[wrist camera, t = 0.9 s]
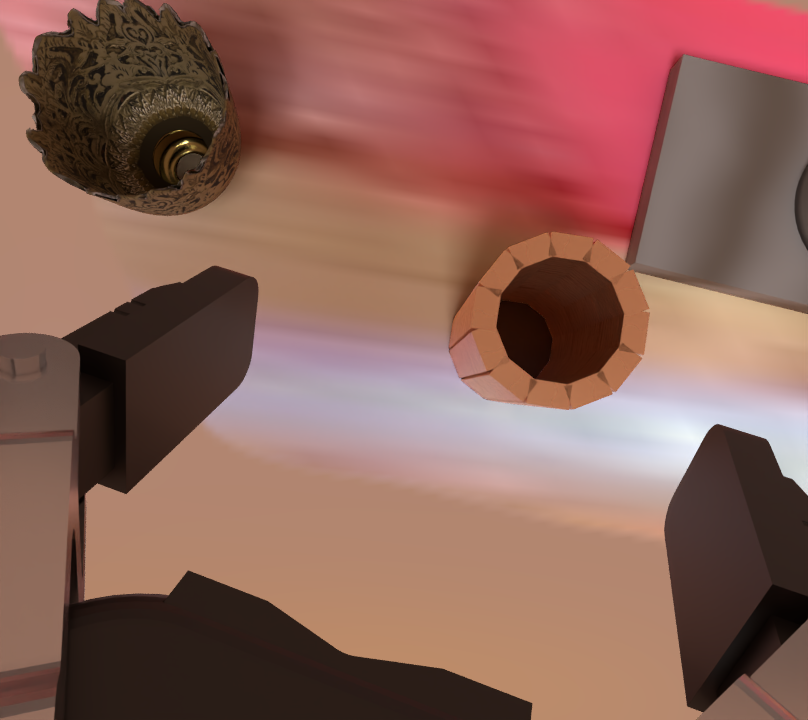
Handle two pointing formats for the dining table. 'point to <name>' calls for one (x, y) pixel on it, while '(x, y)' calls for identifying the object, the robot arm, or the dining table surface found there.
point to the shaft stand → (728, 185)
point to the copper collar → (554, 323)
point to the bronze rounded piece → (133, 108)
